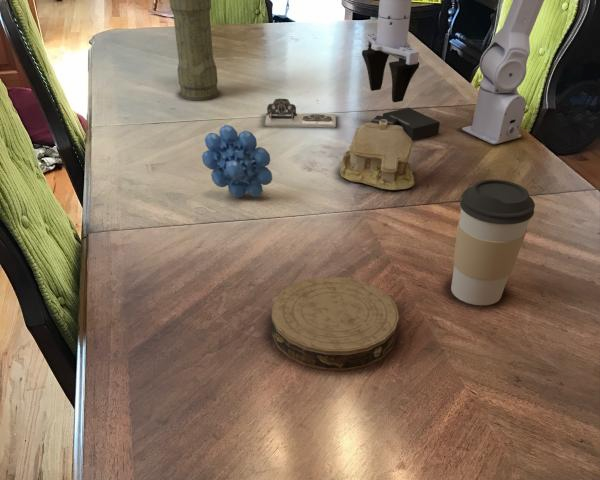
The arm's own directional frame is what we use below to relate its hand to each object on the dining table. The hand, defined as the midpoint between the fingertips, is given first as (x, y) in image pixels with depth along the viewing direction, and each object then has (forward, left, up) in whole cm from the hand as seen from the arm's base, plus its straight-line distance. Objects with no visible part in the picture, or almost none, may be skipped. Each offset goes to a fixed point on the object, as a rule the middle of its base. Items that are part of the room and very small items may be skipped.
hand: (386, 95), depth 121 cm
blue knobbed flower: (-10, +39, -8) cm, 41 cm away
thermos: (+43, +21, -8) cm, 48 cm away
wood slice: (-49, +46, -8) cm, 68 cm away
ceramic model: (-15, +13, -8) cm, 22 cm away
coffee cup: (-52, +24, -8) cm, 58 cm away
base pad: (0, -7, -8) cm, 11 cm away
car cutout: (+16, +10, -8) cm, 20 cm away
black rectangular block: (0, 0, -8) cm, 8 cm away
